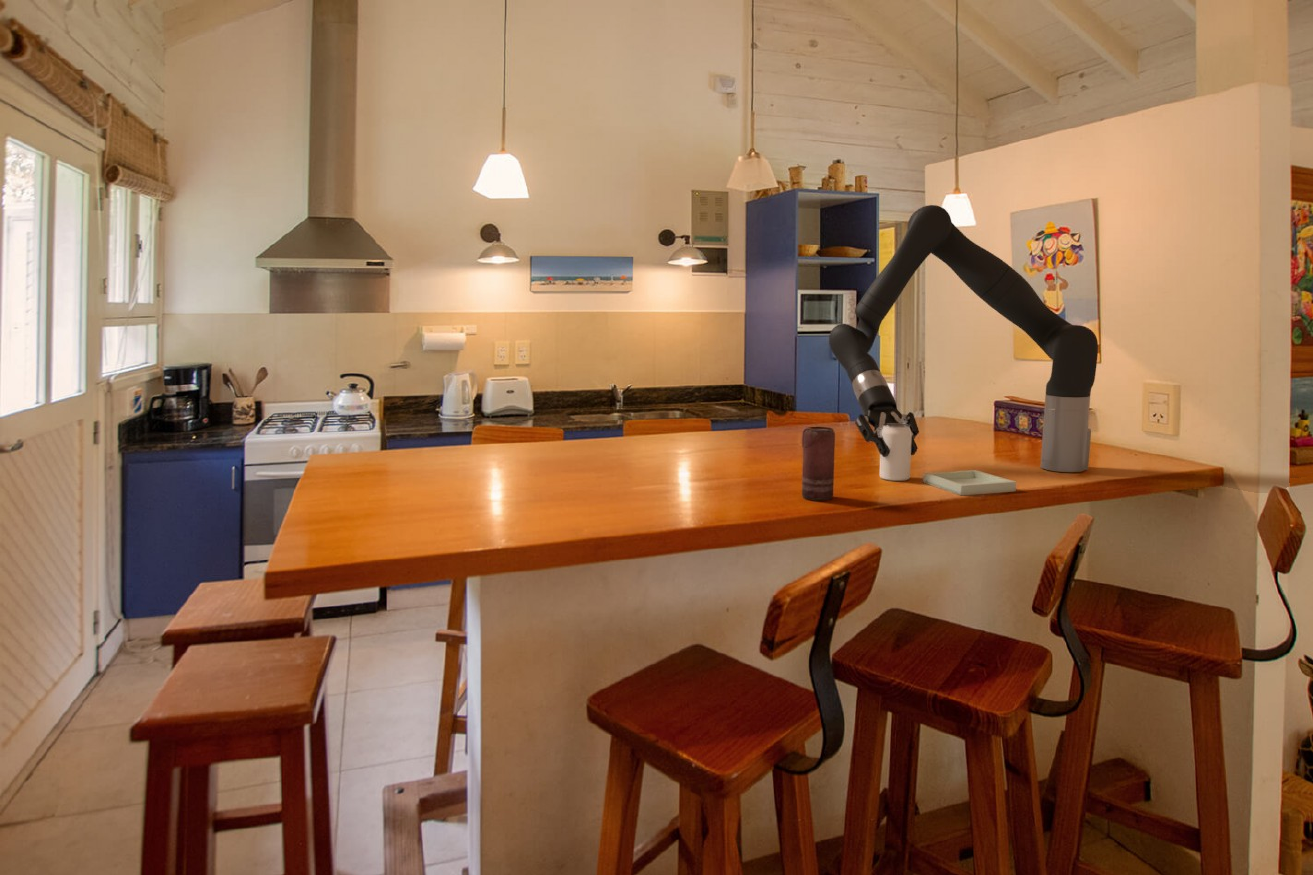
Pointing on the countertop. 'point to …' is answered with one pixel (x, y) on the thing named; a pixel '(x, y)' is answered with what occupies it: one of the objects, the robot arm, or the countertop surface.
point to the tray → (969, 482)
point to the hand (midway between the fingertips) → (900, 453)
